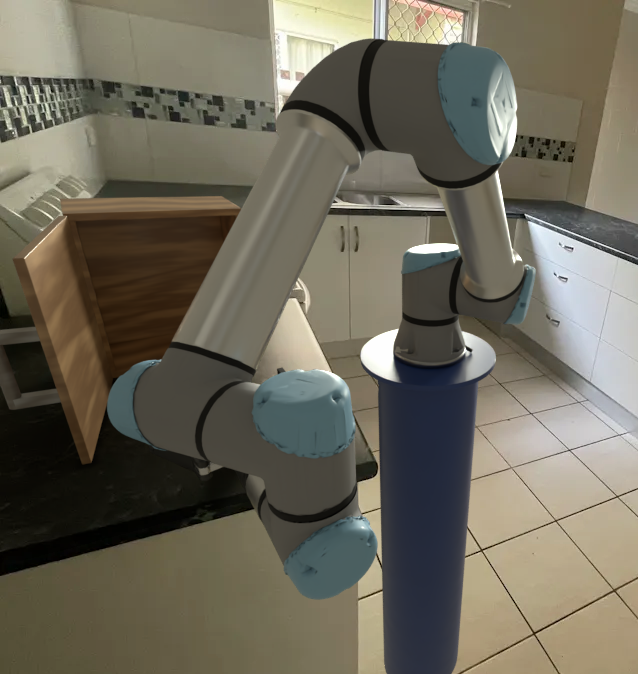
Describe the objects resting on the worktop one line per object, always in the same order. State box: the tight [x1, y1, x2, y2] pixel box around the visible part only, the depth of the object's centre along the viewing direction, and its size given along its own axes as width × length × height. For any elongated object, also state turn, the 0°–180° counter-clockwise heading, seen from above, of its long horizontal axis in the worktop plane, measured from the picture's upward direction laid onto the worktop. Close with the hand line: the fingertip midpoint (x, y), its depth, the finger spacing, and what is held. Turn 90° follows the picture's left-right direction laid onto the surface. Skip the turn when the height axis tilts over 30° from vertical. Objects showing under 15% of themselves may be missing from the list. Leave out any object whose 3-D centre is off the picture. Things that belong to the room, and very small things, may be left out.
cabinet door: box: [0, 215, 114, 466], centre depth 65 cm, size 6×24×28 cm, turn 31°
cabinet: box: [59, 195, 242, 379], centre depth 89 cm, size 14×24×28 cm, turn 131°
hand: (228, 388), depth 65 cm, fingers open, 13 cm apart
